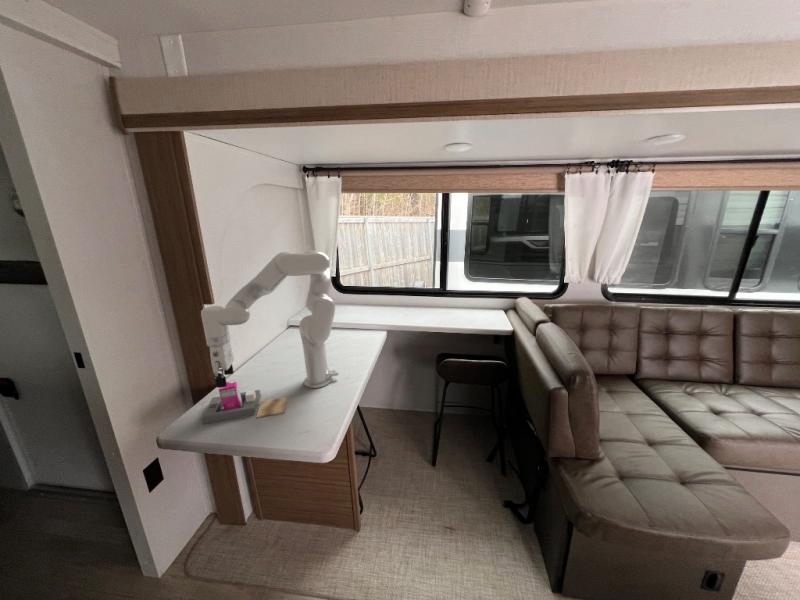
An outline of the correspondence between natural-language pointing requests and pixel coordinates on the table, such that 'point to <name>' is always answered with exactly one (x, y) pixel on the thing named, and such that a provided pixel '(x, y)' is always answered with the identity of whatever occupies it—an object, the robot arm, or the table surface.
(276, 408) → the coaster
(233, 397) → the supplement box
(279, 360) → the table surface
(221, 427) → the table surface
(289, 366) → the table surface
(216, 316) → the robot arm
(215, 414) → the grey rectangular frame
